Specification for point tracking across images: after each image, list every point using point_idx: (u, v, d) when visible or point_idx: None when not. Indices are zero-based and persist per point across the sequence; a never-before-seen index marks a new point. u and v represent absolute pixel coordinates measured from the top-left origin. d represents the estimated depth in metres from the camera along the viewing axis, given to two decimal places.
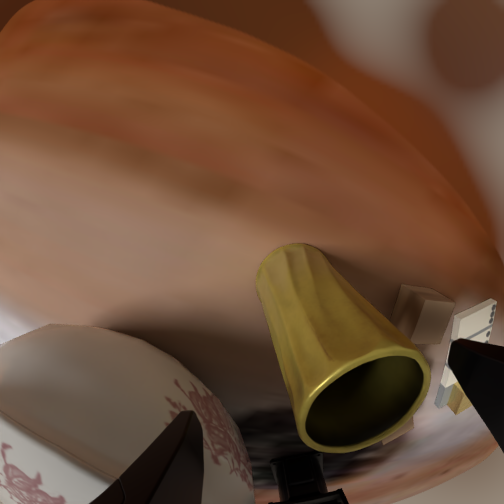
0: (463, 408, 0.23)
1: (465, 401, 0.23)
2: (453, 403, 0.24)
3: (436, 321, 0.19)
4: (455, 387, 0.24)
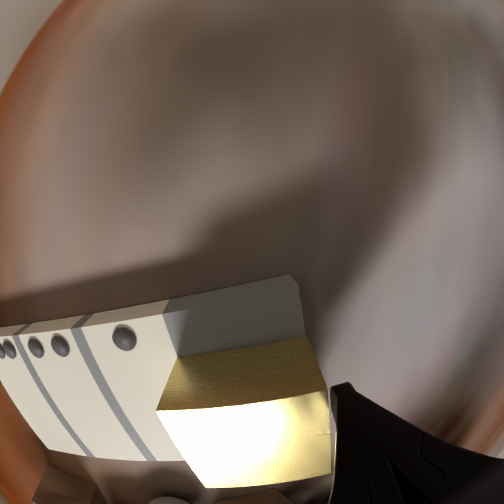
0: (305, 462, 0.06)
1: (263, 469, 0.06)
2: None
3: None
4: None
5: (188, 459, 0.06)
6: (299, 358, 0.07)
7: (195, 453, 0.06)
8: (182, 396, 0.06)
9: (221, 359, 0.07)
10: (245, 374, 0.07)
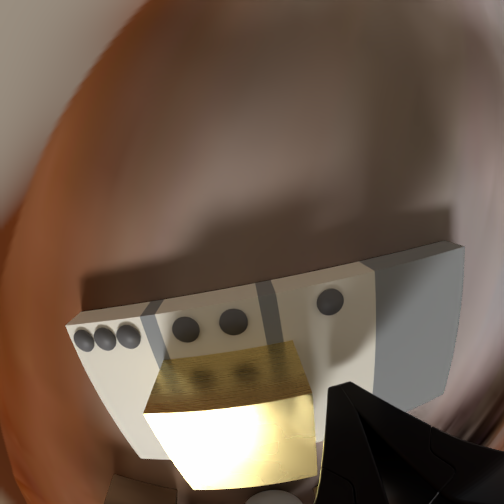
0: (291, 464, 0.06)
1: (250, 472, 0.06)
2: None
3: None
4: None
5: (175, 462, 0.06)
6: (284, 362, 0.07)
7: (182, 455, 0.06)
8: (169, 399, 0.06)
9: (207, 363, 0.07)
10: (231, 378, 0.07)
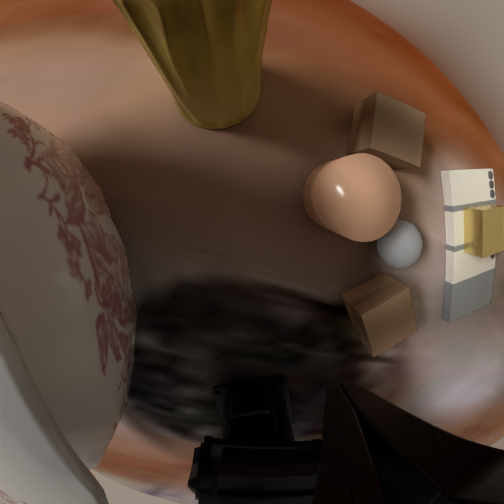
0: (489, 247, 0.17)
1: (489, 233, 0.17)
2: (472, 241, 0.18)
3: (404, 128, 0.15)
4: (467, 211, 0.18)
5: (492, 208, 0.16)
6: None
7: (496, 212, 0.16)
8: None
9: None
10: None
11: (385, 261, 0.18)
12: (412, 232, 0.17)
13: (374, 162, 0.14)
